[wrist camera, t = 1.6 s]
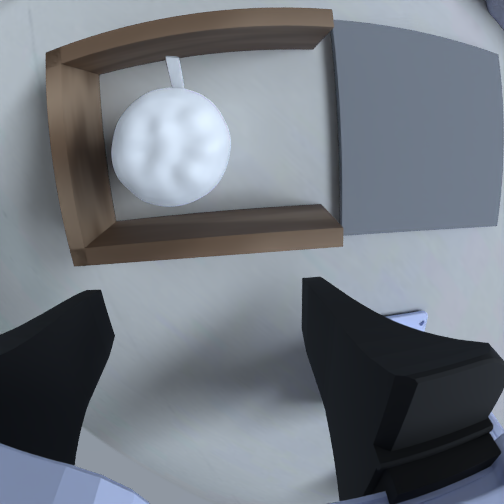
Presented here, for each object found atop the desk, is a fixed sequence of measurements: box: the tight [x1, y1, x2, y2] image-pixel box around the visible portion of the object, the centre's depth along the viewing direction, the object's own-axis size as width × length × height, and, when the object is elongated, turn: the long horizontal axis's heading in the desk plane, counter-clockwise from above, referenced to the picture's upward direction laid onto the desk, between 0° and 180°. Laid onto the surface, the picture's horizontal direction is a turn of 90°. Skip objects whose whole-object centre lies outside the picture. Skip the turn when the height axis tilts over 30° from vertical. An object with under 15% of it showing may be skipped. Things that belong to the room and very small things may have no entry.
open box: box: [46, 8, 343, 266], centre depth 16 cm, size 12×14×5 cm
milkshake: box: [111, 56, 231, 207], centre depth 14 cm, size 4×5×10 cm
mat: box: [331, 20, 504, 235], centre depth 18 cm, size 14×14×1 cm
